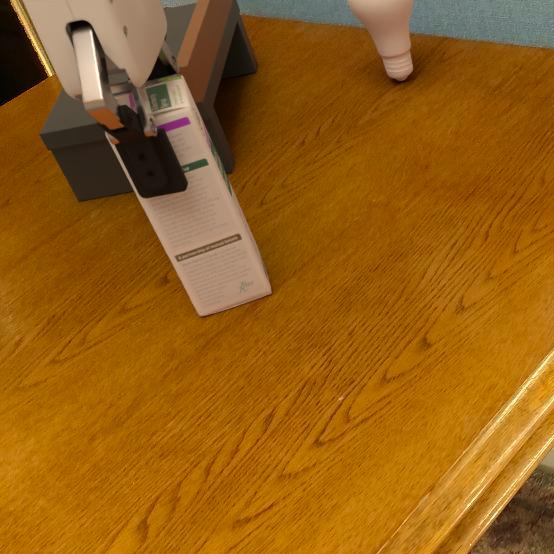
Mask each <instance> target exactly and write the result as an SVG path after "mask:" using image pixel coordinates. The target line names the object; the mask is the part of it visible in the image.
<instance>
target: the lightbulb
mask: <svg viewBox="0 0 554 554" xmlns="http://www.w3.org/2000/svg"><path fill="white" fill-rule="evenodd" d="M414 1H415V0H346V3H347V5H348V7H349V9H350V11H351V13H352V14H353V15H354V16H355V18H356V19H357V20H358V21H359V22H360V23H361V24H362V26H363V27H364V28H365V29H366V30H367V32H368V33H369V35H370V36H371V39H372V40H373V43H374V45H375V48H376V51H377V54H378V55H379V56H380V57H381V59H382V63H383V66H384V69H385V72H386V75H387V76H388V77H389V78H391V79H394V80H396V81H398V82H402V81H405V80H406V79H408V76H409V75H410V74H412V72H413V70H414V66H413V58H412V54H411V48H412V43H411V37H410V19H411V15H412V10H413V6H414Z"/></svg>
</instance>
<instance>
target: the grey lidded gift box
mask: <svg viewBox="0 0 554 554" xmlns="http://www.w3.org/2000/svg"><path fill="white" fill-rule="evenodd" d="M163 9H164V12H165V16H166V20H167V32H166V35H167V37H166V43H167V44H168V46H169V48H170V49H171V51H172V52H173V54H174V56H175V57H176V59H177V62H178V65H179V74H180V75H182V76H183V77H184V79H185V81H186V84H187V86H188V88H189V90H190V93H191V95H192V97H193V100H194V102H195V104H196V107H197V109H198V111H199V113H200V116H201V118H202V120H203V122H204V125H205V127H206V129H207V131H208V134H209V136H210V138H211V141H212V143H213V145H214V147H215V150H216V152H217V154H218V156H219V158H220V161H221V163H222V165H223V168H224V170H225V172H226V175H228V174H232V173H234V169H235V165H236V159H235V157H234V154H233V152H232V148H231V146H230V144H229V142H228V139H227V136H226V134H225V132H224V130H223V126H222V124H221V122H220V119H219V117H218V114H217V112H216V109H215V107H214V104H215V101H216V97H217V94H218V91H219V86H220V83H221V80H224V79H230V78H235V77H240V76H244V75H250V74H255V73H257V71H258V70H257V69H258V66H259V63H258V60H257V57H256V54H255V52H254V48H253V46H252V43H251V41H250V38H249V35H248V31H247V30H246V26H245V23H244V21H243V18H242V15H241V13H240V12H241V8H240V5H239V4H238V1H237V0H197V1H196V2H192V3H188V4H184V5H179V6H178V5H177V6H173V7H168V8H163ZM174 75H178V74H174ZM108 78H109V84H110V85H111V84H116V83H122V82H127V80H128V78H129V76H128V74H127V72H123V73H118V74H113V75H108ZM38 134H39V137H40V138H41V141H42V143H43V144H44V146H45V148H46V150H47V151H50V152H51V154H52V155H53V157H54V159H55V161H56V163H57V165H58V166H59V169H60V170H61V172H62V173H63V176H64V177H65V179H66V181H67V183H68V185H69V187H70V188H71V190H72V192H73V194H74V195H75V198H76V200H77V201H78V202H84V201H88V200H89V201H90V200H94V199H99V198H104V197H110V196H116V195H121V194H125V193H126V194H127V193H131V192H135V191H134V189H133V187H132V185H131V183H130V181H129V180H128V178H127V176H126V174H125V172H124V170H123V168H122V166H121V164H120V162H119V160H118V158H117V156H116V154H115V152H114V150H113V148H112V146H111V145H110V143H109V141H108V139H107V137H106V133H105V131H104V130H103V128H102V127H101V126H99V124H98V122H97V121H96V120H95V119H94V118H93V117H92V116H90V115H89V114H88V113H87V111H86V109H85V107H84V104H83V99H74V98H72V97H70V96H69V95H68V94H67V93H66V91H65V90H64V88H63V87H62V88H61V90H60V93H59V94H58V96H57V98H56V100H55V102H54V104H53V106H52V108H51V110H50V112H49V114H48V116H47V118H46V120H45V122H44V124H43V125H42V127H41V129H40V131H39V133H38Z"/></svg>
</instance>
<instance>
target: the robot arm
mask: <svg viewBox="0 0 554 554" xmlns="http://www.w3.org/2000/svg"><path fill="white" fill-rule="evenodd" d="M22 3H23V4H24V8H25V9H26V11H27V13H28V16H29V18H30V20H31V22H32V24H33V27H34V29H35V31H36V34H37V36H38V38H39V41H40V42H41V44H42V46H43V49H44V51H45V53H46V55H47V57H48V59H49V62H50V63H51V66H52V68H53V70H54V72H55V75H56V76H57V78H58V81H59V82H60V84H61V86H62V89H63V88H64V90H65V91H66V93H67V94H68V95H69V96H70V97H72V98H74V99H83V104H84V107H85V109H86V111H87V113H88V114H89V115H90V116H92V117H93V118H94V119H95V120H96V121H97V122H98V124H99V126H101V127H102V128H103V130H104V131H106V133H107V136H108V139H109V141H110V142H111V143H112V144H113V145H115V147H116V149H117V151H118V153H119V155H120V157H121V159H122V161H123V163H124V165H125V167H126V169H127V171H128V173H129V175H130V177H131V180H132V182H133V184H134V186H135V188H136V190H137V192H138V194H139V195H140V196H141V197H142V198H152V197H157V196H163V195H168V194H173V193H178V192H183V191H185V190H186V189H187V186H188V181H187V179H186V176H185V174H184V172H183V170H182V167H181V165H180V163H179V161H178V159H177V156H176V154H175V152H174V150H173V147H172V145H171V143H170V141H169V139H168V136H167V134H166V132H165V130H164V128H160V129H157V126H156V123H155V119H154V116H153V113H152V109H151V106H150V103H149V99H148V96H147V93H146V89H145V86H144V83H145V82H147V81H150V80H154V79H159V78H163V77H167V76H171V75H174V74H179V65H178V62H177V59H176V57H175V56H174V54H173V52H172V51H171V49H170V48H169V46H168V44H167V43H166V37H167V35H166V32H167V20H166V16H165V12H164V9H165V8H164V6H163V3H162V0H22ZM123 72H127V74H128V76H129V78H128V80H127V82H122V83H116V84H111V85H110V84H109V78H108V75H113V74H118V73H123ZM128 94H132V97H133V100H134V104H135V107H136V110H137V113H136V112H135V111H133V110H132V109H131V108H130V107H128V106H127V105H119V104H118V101H117V100H116V99H115V97H117V96H123V95H128Z"/></svg>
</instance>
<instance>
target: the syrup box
mask: <svg viewBox="0 0 554 554" xmlns="http://www.w3.org/2000/svg"><path fill="white" fill-rule="evenodd" d="M144 86H145V89H146V93H147V96H148V99H149V103H150V106H151V109H152V113H153V116H154V119H155V123H156V126H157V129H160V128H164V130H165V132H166V134H167V136H168V139H169V141H170V143H171V145H172V147H173V150H174V152H175V154H176V156H177V159H178V161H179V163H180V165H181V167H182V170H183V172H184V174H185V176H186V179H187V181H188V186H187V189H186V190H185V191H183V192H178V193H173V194H168V195H163V196H157V197H152V198H142V197H141V196H140V195H139V194H138V192H137V190H136V188H135V186H134V184H133V182H132V180H131V177H130V175H129V173H128V171H127V169H126V167H125V165H124V163H123V161H122V159H121V157H120V155H119V153H118V151H117V149H116V147H115V145H113V144H112V143H111V142H110V141H109V139H108V136H107V133H106V131H105V133H106V137H107V139H108V141H109V143H110V145H111V146H112V148H113V150H114V152H115V154H116V156H117V158H118V160H119V162H120V164H121V166H122V168H123V170H124V172H125V174H126V176H127V178H128V180H129V181H130V183H131V185H132V187H133V189H134V191H133V192H134V193H135V195H136V198H137V199H138V202H139V203H140V205H141V207H142V209H143V211H144V213H145V215H146V217H147V219H148V220H149V223H150V225H151V226H152V229H153V230H154V232H155V234H156V236H157V238H158V240H159V242H160V244H161V246H162V248H163V250H164V252H165V253H166V257H168V260H169V261H170V263H171V265H172V267H173V269H174V271H175V273H176V275H177V277H178V279H179V280H180V283H181V285H182V287H183V288H184V290H185V292H186V294H187V296H188V299H189V300H190V302H191V304H192V306H193V308H194V310H195V313H196V314H197V315H198V316H199V317H206V316H209V315H213V314H216V313H220V312H223V311H227V310H229V309H233V308H236V307H238V306H241V305H244V304H247V303H250V302H252V301H255V300H258V299H261V298H263V297H266V296H269V295H272V293H273V291H272V286H271V281H270V278H269V274H268V271H267V268H266V265H265V262H264V259H263V257H262V253H261V251H260V249H259V247H258V243H257V242H256V239H255V237H254V235H253V233H252V230H251V228H250V225H249V224H248V221H247V219H246V216H245V215H244V211H243V209H242V207H241V205H240V202H239V201H238V200H239V199H238V198H237V195H236V193H235V190H234V188H233V186H232V184H231V182H230V179H229V177H228V174H226V172H225V170H224V168H223V165H222V163H221V161H220V158H219V156H218V154H217V152H216V150H215V147H214V145H213V143H212V141H211V138H210V136H209V134H208V131H207V129H206V127H205V125H204V122H203V120H202V118H201V116H200V113H199V111H198V109H197V107H196V104H195V102H194V100H193V97H192V95H191V93H190V90H189V88H188V86H187V84H186V81H185V79H184V77H183V76H182V75H180V74H178V75H171V76H167V77H163V78H159V79H154V80H150V81H147V82H145V83H144ZM115 99H116V100H117V101H118V104H119V105H127V106H128V107H130V108H131V109H132V110H133V111H135V112H136V113H137V110H136V107H135V104H134V100H133V97H132V94H128V95H123V96H117V97H115Z"/></svg>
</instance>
